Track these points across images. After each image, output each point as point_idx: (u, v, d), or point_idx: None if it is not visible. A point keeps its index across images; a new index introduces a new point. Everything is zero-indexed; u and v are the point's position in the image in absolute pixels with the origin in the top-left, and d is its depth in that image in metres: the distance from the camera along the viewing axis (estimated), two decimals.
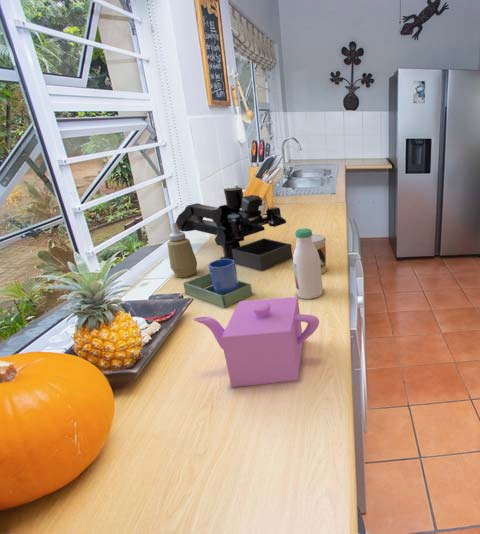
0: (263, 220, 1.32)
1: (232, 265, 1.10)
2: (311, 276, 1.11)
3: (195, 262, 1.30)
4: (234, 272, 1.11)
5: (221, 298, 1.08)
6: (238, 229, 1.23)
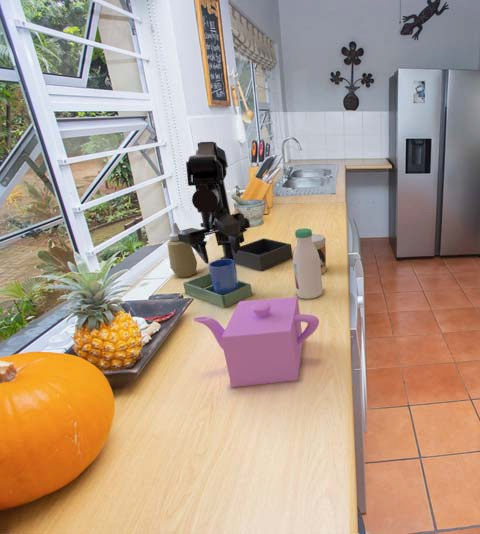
0: None
1: (232, 265, 1.10)
2: (311, 276, 1.11)
3: (195, 262, 1.30)
4: (234, 272, 1.11)
5: (221, 298, 1.08)
6: None
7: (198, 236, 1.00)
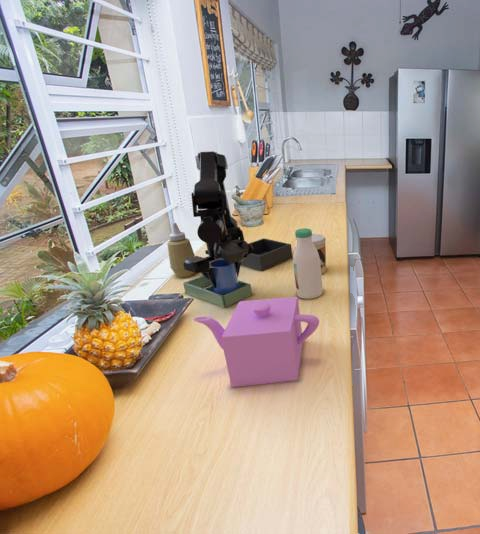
0: None
1: (232, 265, 1.10)
2: (311, 276, 1.11)
3: None
4: (234, 272, 1.11)
5: (221, 298, 1.08)
6: None
7: (203, 265, 1.02)
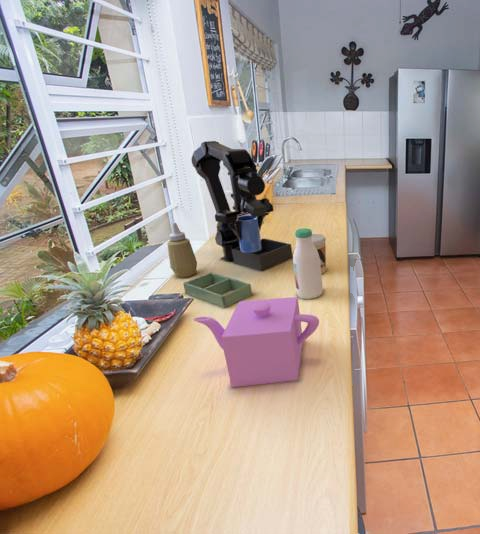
0: None
1: (255, 220, 1.27)
2: (311, 276, 1.11)
3: (195, 262, 1.30)
4: (257, 226, 1.28)
5: (221, 298, 1.08)
6: None
7: (232, 217, 1.19)
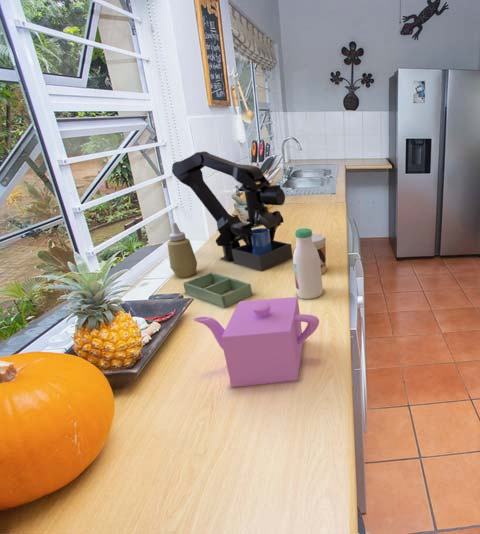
0: None
1: (268, 232, 1.37)
2: (311, 276, 1.11)
3: (195, 262, 1.30)
4: (269, 238, 1.39)
5: (221, 298, 1.08)
6: None
7: (247, 229, 1.30)
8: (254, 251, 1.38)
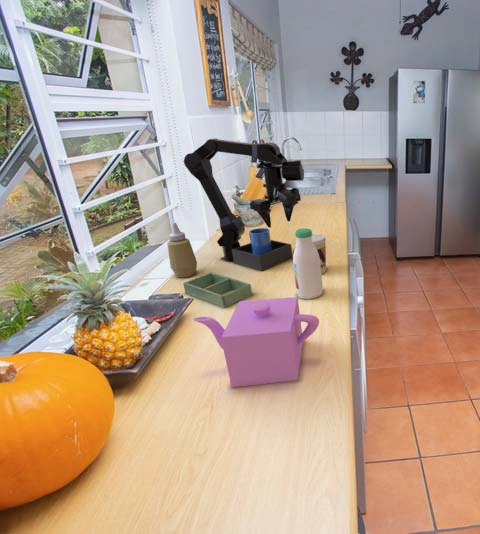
0: None
1: (268, 232, 1.37)
2: (311, 276, 1.11)
3: (195, 262, 1.30)
4: (269, 238, 1.39)
5: (221, 298, 1.08)
6: None
7: (266, 205, 1.30)
8: (254, 251, 1.38)
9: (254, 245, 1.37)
